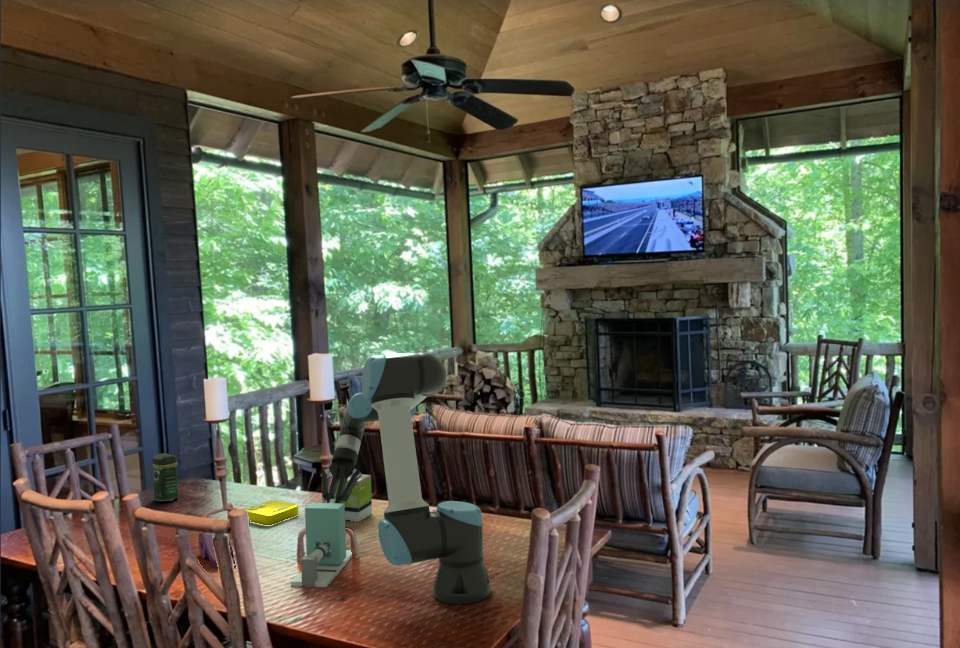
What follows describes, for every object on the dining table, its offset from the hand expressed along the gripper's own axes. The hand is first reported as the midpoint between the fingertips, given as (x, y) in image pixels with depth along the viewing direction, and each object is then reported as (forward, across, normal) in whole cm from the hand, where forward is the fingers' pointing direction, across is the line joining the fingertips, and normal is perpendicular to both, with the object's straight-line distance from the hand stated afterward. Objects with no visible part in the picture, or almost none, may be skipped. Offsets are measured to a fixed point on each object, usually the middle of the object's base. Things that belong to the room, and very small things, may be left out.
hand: (328, 521), depth 201 cm
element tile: (-18, +37, -36) cm, 55 cm away
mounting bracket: (+9, +34, -9) cm, 36 cm away
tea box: (-21, +10, -39) cm, 45 cm away
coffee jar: (-32, +91, -49) cm, 108 cm away
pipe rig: (+12, 0, -5) cm, 13 cm away
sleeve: (+10, 0, -5) cm, 11 cm away
